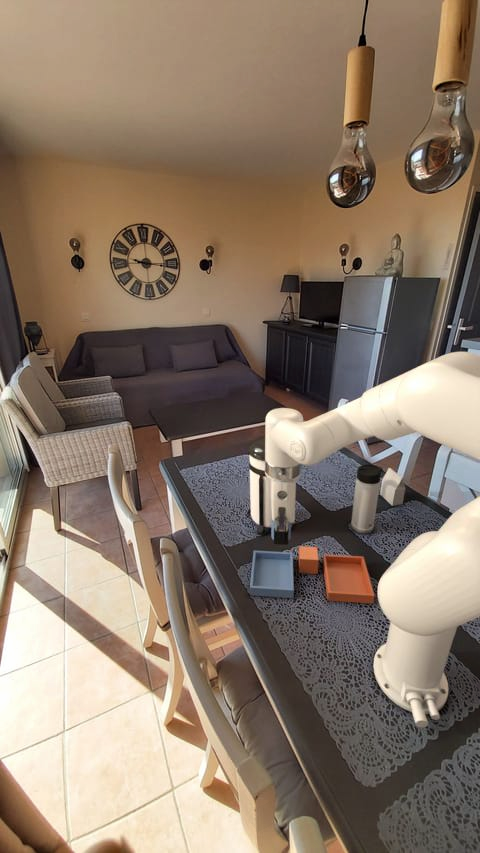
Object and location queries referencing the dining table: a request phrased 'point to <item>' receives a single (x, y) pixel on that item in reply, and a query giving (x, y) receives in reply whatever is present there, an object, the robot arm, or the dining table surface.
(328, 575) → the terracotta tray
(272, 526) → the blue cylinder
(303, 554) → the terracotta block
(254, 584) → the blue tray
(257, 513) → the coffee press
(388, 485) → the white gabled block
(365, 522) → the travel mug
